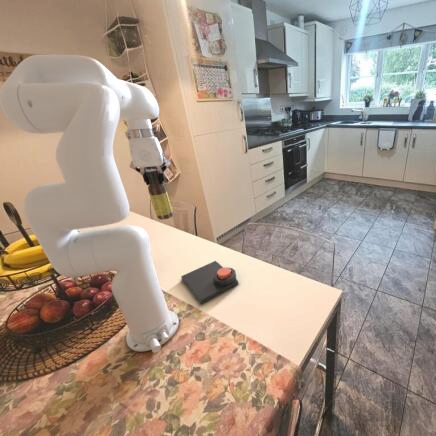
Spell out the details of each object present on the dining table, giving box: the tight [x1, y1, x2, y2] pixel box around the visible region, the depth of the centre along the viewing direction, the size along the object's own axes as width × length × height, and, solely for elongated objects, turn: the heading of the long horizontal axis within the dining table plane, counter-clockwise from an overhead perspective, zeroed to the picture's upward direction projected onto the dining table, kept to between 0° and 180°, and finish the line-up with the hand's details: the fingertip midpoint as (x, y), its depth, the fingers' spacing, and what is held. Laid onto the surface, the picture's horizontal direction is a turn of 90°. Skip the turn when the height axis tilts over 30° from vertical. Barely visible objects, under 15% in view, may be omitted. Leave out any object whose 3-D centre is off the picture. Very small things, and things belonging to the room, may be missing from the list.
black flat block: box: [180, 260, 239, 305], centre depth 83 cm, size 16×14×4 cm
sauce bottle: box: [146, 168, 174, 221], centre depth 97 cm, size 6×6×20 cm
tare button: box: [217, 267, 231, 279], centre depth 82 cm, size 4×4×2 cm
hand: (155, 182), depth 95 cm, fingers closed on sauce bottle, 4 cm apart
